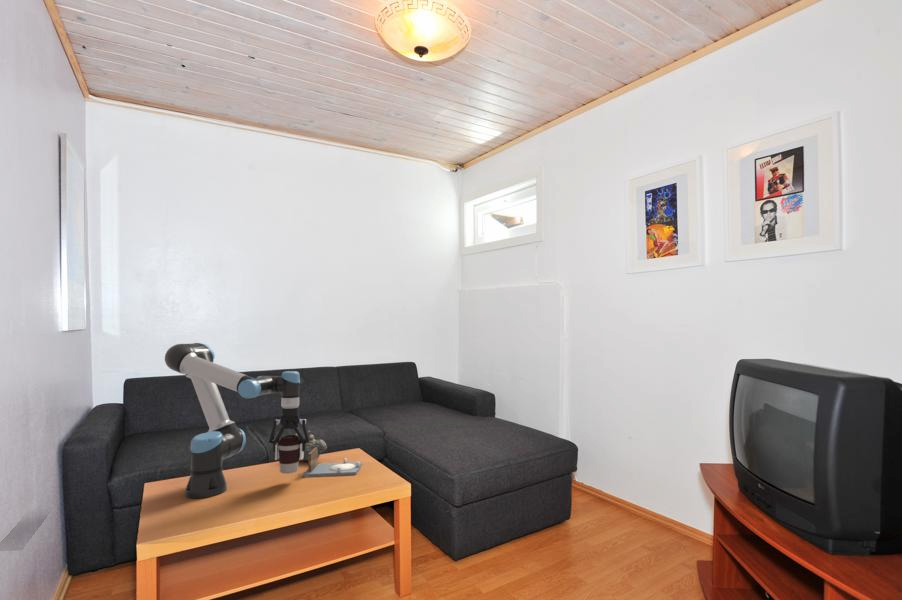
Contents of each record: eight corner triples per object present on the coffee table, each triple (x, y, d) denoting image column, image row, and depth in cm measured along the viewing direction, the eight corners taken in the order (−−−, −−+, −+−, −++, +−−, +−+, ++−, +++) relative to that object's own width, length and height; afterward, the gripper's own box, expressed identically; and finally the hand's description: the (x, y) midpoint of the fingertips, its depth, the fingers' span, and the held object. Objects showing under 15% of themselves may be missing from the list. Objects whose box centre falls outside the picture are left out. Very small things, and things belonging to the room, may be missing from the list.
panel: (304, 471, 210) (304, 454, 211) (311, 464, 222) (311, 447, 223) (311, 471, 210) (310, 453, 211) (317, 464, 222) (317, 447, 223)
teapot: (332, 459, 237) (332, 429, 238) (318, 465, 226) (318, 433, 227) (299, 456, 245) (299, 427, 246) (284, 461, 234) (284, 431, 236)
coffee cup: (271, 473, 198) (272, 437, 199) (288, 467, 207) (289, 433, 208) (289, 476, 194) (290, 439, 195) (305, 469, 203) (306, 434, 204)
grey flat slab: (302, 477, 207) (302, 469, 208) (312, 466, 224) (312, 459, 225) (356, 474, 208) (356, 467, 209) (362, 464, 225) (362, 457, 226)
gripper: (261, 408, 198) (259, 461, 197) (314, 408, 199) (313, 460, 197) (267, 406, 206) (266, 457, 204) (318, 405, 206) (317, 456, 205)
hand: (289, 459), depth 201 cm, fingers closed on coffee cup, 10 cm apart
